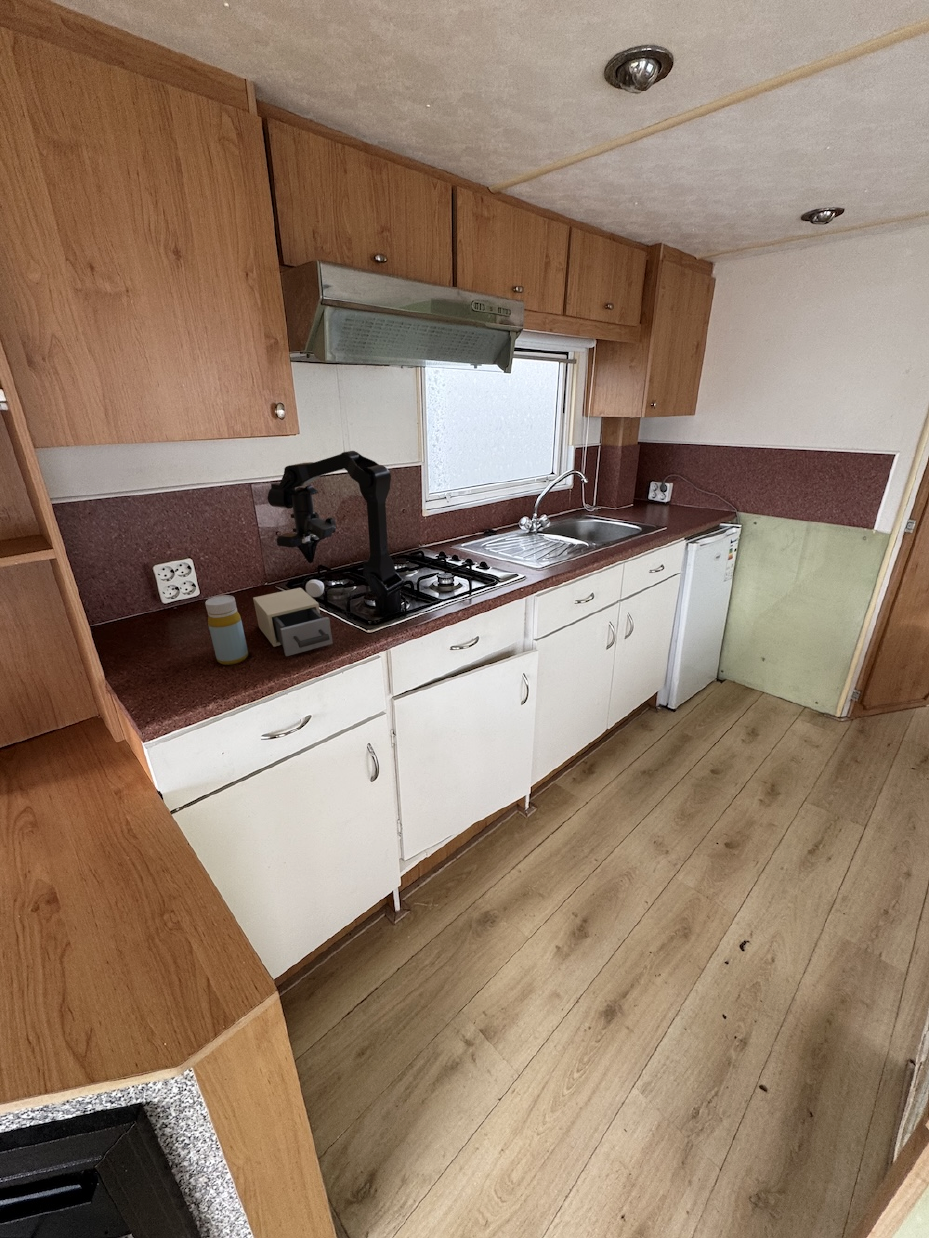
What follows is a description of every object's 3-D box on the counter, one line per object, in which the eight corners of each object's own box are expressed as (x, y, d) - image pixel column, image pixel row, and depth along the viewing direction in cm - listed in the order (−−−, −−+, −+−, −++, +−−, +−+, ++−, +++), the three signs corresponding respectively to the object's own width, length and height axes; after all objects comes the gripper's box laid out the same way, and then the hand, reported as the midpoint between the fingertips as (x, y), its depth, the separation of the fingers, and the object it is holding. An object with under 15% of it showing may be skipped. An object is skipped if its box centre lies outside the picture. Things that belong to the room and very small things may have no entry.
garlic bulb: (328, 591, 168) (326, 574, 166) (323, 598, 163) (321, 581, 161) (311, 591, 168) (309, 574, 166) (305, 598, 163) (303, 581, 161)
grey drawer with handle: (340, 651, 127) (337, 625, 124) (293, 665, 121) (288, 638, 119) (314, 625, 141) (310, 601, 139) (270, 636, 136) (266, 612, 133)
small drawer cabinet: (323, 634, 139) (318, 603, 135) (273, 647, 132) (267, 615, 129) (305, 616, 150) (300, 587, 146) (258, 627, 144) (252, 597, 140)
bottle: (238, 666, 123) (224, 606, 117) (211, 664, 125) (196, 605, 119) (254, 653, 129) (242, 595, 124) (228, 651, 131) (215, 593, 125)
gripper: (303, 519, 141) (310, 575, 147) (346, 505, 156) (352, 557, 162) (271, 515, 145) (280, 570, 151) (316, 502, 160) (323, 553, 167)
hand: (310, 562), depth 158 cm, fingers closed
